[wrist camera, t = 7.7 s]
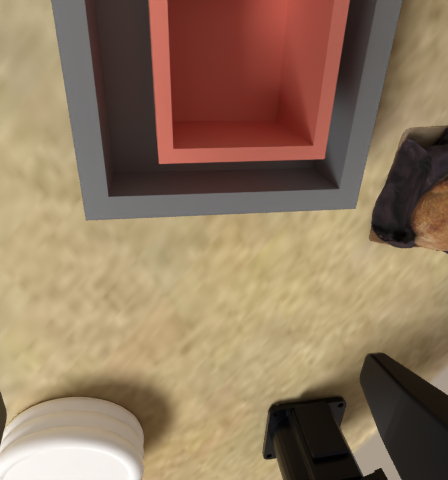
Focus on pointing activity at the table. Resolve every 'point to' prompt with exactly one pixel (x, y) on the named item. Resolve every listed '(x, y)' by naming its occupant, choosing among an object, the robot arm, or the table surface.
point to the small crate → (244, 78)
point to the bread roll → (415, 193)
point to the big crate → (211, 173)
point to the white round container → (73, 442)
